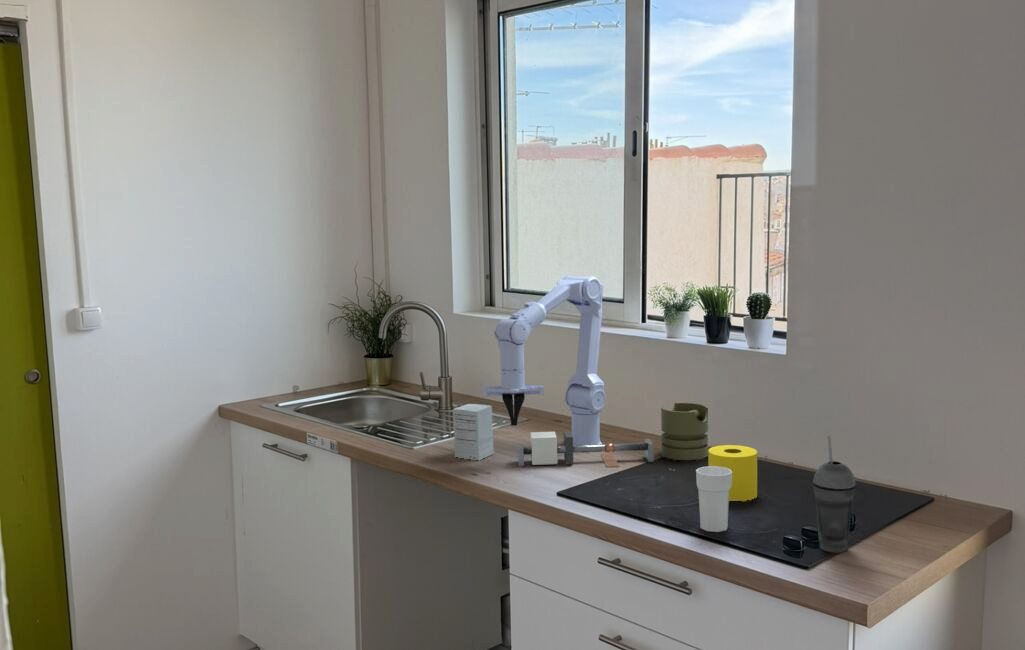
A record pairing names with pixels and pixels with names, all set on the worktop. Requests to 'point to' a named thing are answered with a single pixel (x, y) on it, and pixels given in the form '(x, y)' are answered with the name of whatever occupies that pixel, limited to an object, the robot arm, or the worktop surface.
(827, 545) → the beverage cup
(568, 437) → the dark grey flat block
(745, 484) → the yellow toilet paper roll
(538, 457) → the sleeve
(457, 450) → the supplement box
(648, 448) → the pipe rig
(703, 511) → the cup
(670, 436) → the piston
